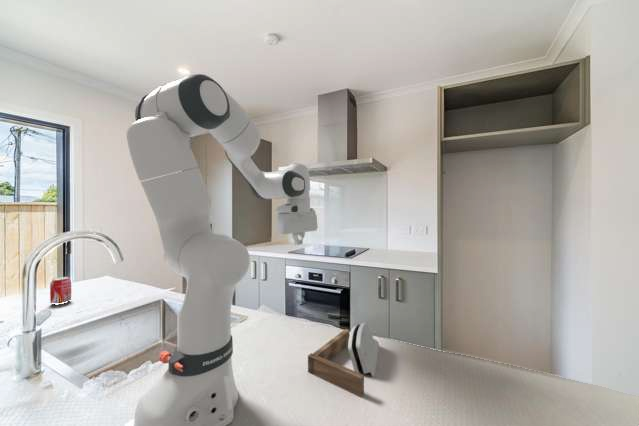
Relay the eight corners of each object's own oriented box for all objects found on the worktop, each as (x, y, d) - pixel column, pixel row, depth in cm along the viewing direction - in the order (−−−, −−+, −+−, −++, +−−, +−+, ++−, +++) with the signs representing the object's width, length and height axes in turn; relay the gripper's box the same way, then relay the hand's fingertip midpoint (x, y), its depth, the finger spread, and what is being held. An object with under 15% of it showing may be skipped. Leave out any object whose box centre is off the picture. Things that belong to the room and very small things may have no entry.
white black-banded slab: (374, 378, 67) (361, 340, 68) (357, 380, 68) (344, 343, 69) (379, 345, 83) (369, 315, 84) (365, 348, 84) (355, 318, 85)
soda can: (50, 303, 121) (50, 278, 121) (71, 299, 126) (71, 275, 126) (49, 307, 116) (49, 281, 116) (71, 303, 121) (70, 278, 120)
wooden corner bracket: (361, 397, 60) (361, 378, 60) (307, 372, 69) (307, 355, 69) (390, 358, 76) (390, 343, 76) (344, 341, 85) (344, 328, 85)
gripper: (308, 208, 107) (309, 241, 107) (273, 207, 90) (273, 246, 90) (321, 208, 103) (321, 242, 103) (286, 207, 86) (286, 248, 87)
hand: (298, 244), depth 97 cm, fingers closed
